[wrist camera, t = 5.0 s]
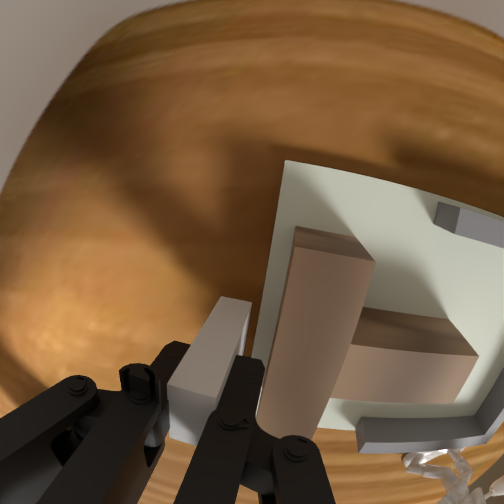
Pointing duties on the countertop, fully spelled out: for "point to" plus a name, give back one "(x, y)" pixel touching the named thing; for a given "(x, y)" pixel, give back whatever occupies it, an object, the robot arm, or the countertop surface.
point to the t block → (350, 342)
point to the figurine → (451, 476)
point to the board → (404, 295)
